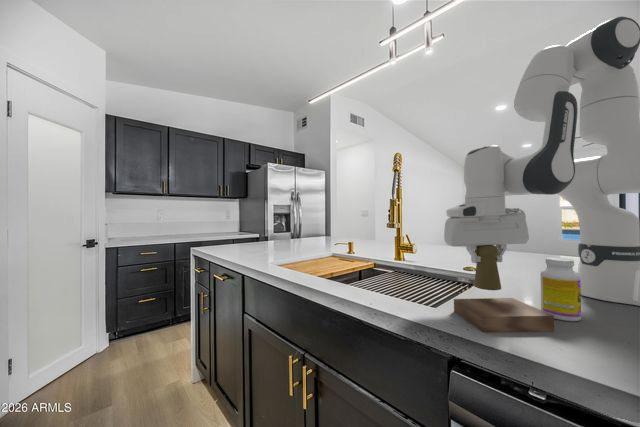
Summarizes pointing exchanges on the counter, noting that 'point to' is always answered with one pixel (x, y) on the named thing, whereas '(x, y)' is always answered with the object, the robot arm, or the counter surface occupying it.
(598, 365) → the counter surface
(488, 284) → the cork
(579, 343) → the counter surface
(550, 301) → the supplement bottle
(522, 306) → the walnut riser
